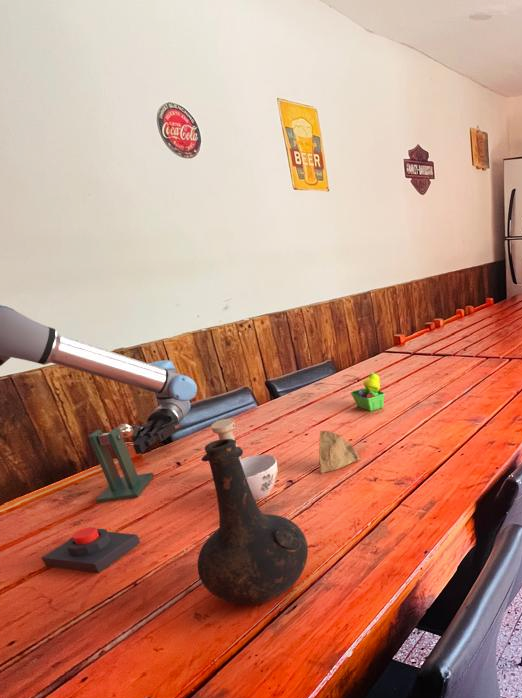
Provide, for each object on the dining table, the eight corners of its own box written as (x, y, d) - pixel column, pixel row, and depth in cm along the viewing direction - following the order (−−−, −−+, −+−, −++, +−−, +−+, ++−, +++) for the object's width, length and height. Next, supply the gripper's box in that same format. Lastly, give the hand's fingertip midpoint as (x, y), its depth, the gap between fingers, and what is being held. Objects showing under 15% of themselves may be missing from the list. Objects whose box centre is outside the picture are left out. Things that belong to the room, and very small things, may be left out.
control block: (45, 566, 100) (36, 549, 99) (90, 537, 109) (83, 522, 107) (98, 573, 98) (90, 556, 96) (140, 543, 106) (134, 527, 105)
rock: (361, 445, 141) (324, 444, 140) (359, 429, 133) (319, 427, 132) (358, 481, 136) (319, 479, 135) (355, 466, 128) (314, 465, 127)
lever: (122, 436, 134) (118, 423, 133) (137, 435, 135) (133, 421, 134) (97, 448, 122) (93, 433, 121) (114, 446, 122) (110, 431, 121)
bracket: (117, 481, 133) (94, 425, 126) (154, 476, 135) (133, 420, 128) (97, 504, 123) (70, 444, 116) (138, 498, 124) (114, 438, 118)
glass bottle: (283, 625, 82) (238, 471, 70) (185, 616, 85) (126, 467, 73) (331, 558, 98) (301, 423, 86) (247, 553, 101) (206, 421, 89)
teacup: (244, 482, 129) (235, 454, 125) (292, 482, 128) (285, 453, 125) (212, 514, 116) (202, 483, 112) (265, 513, 115) (257, 482, 111)
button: (70, 544, 101) (66, 537, 100) (88, 533, 104) (85, 526, 103) (86, 546, 100) (83, 539, 99) (104, 535, 103) (101, 527, 102)
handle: (224, 483, 129) (207, 429, 122) (233, 472, 135) (217, 419, 128) (243, 482, 129) (228, 427, 123) (251, 470, 135) (236, 418, 128)
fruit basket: (351, 406, 178) (346, 374, 173) (373, 399, 184) (368, 369, 179) (369, 413, 171) (364, 380, 166) (391, 406, 176) (386, 374, 171)
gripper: (191, 427, 161) (168, 458, 140) (146, 433, 159) (116, 465, 138) (183, 405, 158) (159, 433, 137) (137, 410, 155) (105, 439, 135)
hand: (137, 449), depth 137 cm, fingers closed
